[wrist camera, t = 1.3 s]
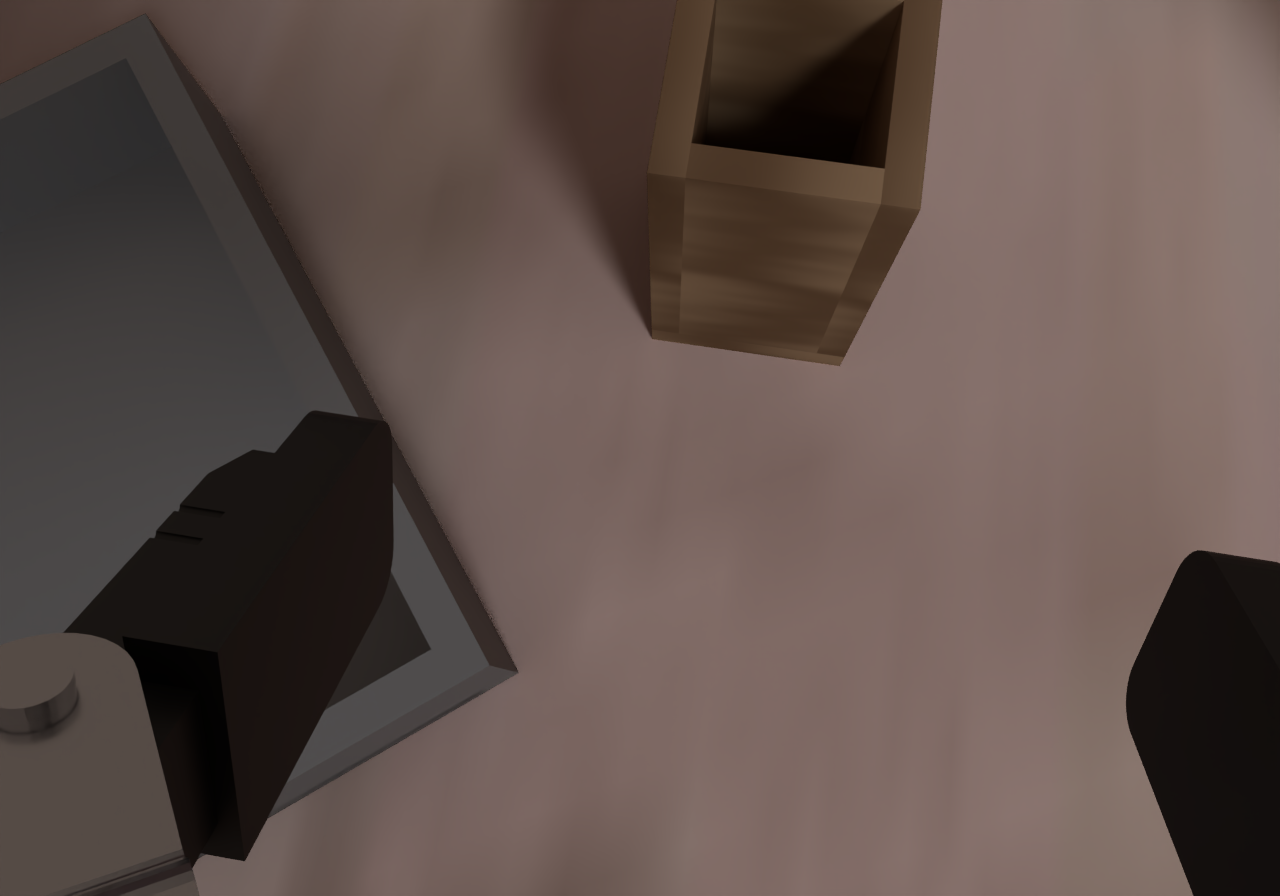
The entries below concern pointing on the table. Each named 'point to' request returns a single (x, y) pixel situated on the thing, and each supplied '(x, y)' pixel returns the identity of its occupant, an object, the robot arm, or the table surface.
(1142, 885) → the table surface
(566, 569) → the table surface
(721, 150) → the walnut crate
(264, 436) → the grey tray
